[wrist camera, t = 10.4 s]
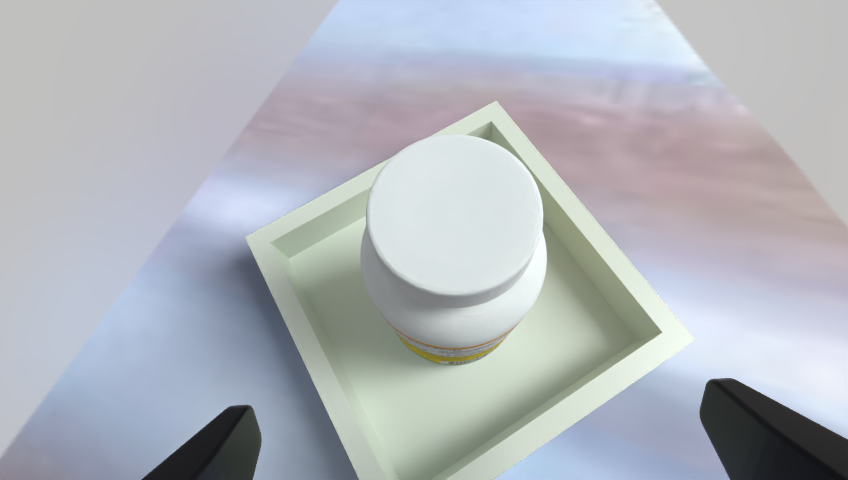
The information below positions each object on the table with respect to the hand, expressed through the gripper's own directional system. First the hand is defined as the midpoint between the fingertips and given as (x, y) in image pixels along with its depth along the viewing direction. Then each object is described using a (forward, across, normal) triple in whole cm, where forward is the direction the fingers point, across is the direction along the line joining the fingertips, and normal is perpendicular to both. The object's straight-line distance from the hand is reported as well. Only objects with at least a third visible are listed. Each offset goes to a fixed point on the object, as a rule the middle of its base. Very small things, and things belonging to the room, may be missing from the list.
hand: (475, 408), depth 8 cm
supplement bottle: (+10, 0, +4) cm, 10 cm away
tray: (+10, 0, +4) cm, 11 cm away
